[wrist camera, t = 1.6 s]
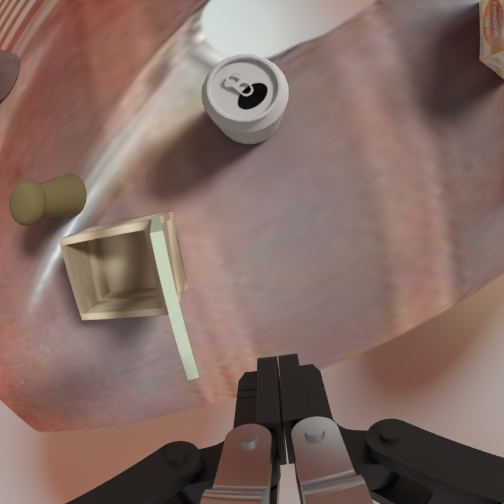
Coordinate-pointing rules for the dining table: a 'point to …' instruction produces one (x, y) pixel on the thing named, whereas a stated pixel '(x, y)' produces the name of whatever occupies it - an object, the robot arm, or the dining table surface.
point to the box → (121, 268)
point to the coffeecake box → (492, 35)
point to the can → (245, 97)
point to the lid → (171, 297)
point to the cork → (47, 199)
